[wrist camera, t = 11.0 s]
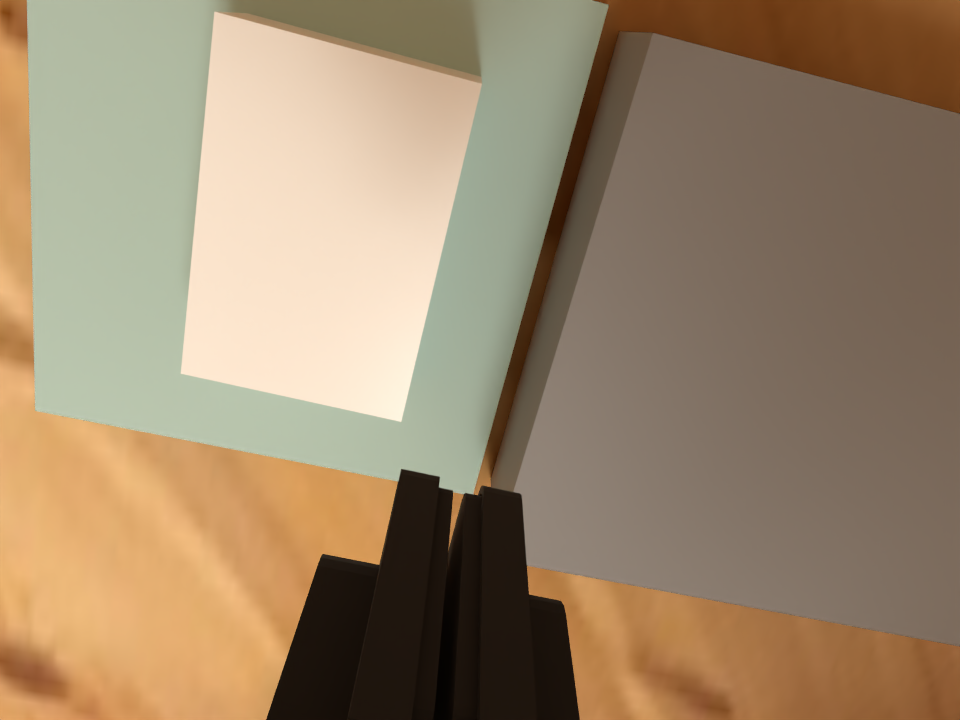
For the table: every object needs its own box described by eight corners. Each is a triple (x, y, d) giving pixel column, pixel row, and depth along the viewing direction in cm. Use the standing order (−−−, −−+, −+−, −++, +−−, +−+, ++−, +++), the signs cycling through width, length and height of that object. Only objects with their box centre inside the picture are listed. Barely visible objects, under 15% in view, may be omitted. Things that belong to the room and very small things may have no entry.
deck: (1170, 176, 20) (1322, 209, 17) (929, 566, 26) (1002, 654, 22) (619, 31, 19) (653, 32, 15) (490, 479, 24) (492, 559, 21)
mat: (606, 5, 18) (608, 4, 18) (472, 489, 25) (472, 495, 24) (33, -148, 17) (23, -151, 17) (42, 404, 23) (34, 410, 23)
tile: (214, 11, 16) (247, 13, 18) (180, 373, 20) (212, 337, 22) (482, 83, 16) (481, 76, 19) (401, 421, 20) (409, 381, 22)
